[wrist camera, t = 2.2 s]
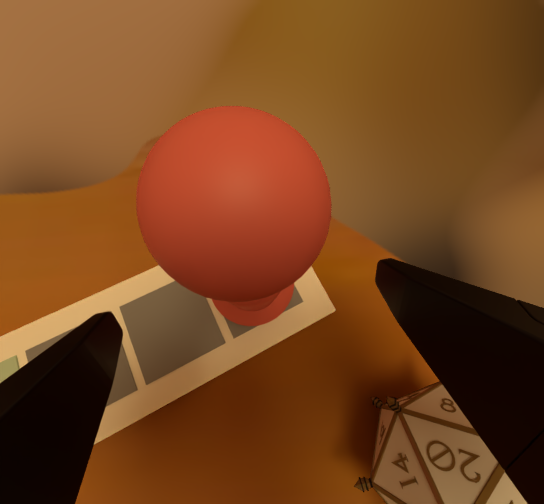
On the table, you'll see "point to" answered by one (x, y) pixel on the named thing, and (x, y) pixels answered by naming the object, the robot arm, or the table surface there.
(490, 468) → the game die
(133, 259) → the table surface
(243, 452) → the table surface
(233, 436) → the table surface
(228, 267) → the pawn
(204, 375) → the board
